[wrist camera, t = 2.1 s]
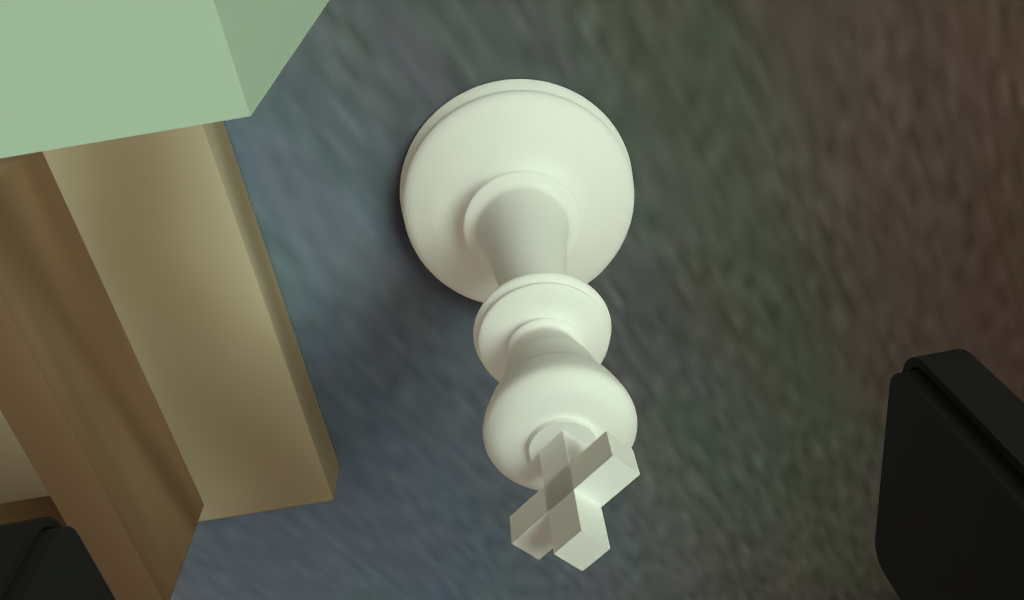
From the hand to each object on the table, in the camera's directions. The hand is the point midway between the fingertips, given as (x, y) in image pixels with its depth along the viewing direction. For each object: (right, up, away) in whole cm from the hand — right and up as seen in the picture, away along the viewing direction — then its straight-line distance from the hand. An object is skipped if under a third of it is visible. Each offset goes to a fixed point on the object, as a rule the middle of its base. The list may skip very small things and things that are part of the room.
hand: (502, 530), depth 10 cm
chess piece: (0, +5, +8) cm, 10 cm away
